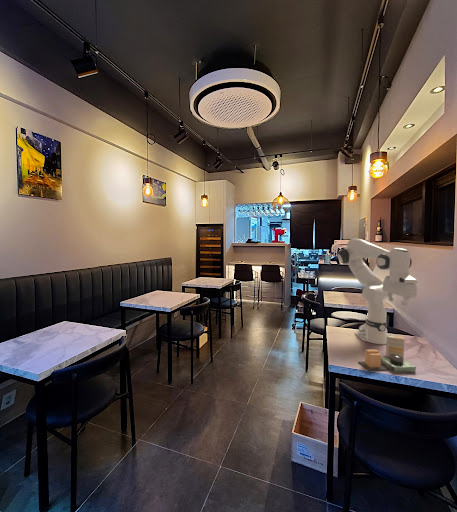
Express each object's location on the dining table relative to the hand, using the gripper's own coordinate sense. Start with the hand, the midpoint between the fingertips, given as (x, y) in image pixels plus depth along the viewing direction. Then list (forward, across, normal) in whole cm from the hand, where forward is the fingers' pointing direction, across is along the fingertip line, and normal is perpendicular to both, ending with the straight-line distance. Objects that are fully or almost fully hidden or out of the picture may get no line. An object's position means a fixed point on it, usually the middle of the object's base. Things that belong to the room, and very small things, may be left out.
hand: (397, 302), depth 136 cm
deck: (+35, +2, 0) cm, 35 cm away
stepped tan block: (+34, +1, -13) cm, 37 cm away
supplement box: (+35, -8, +7) cm, 37 cm away
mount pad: (+35, +1, -13) cm, 37 cm away
